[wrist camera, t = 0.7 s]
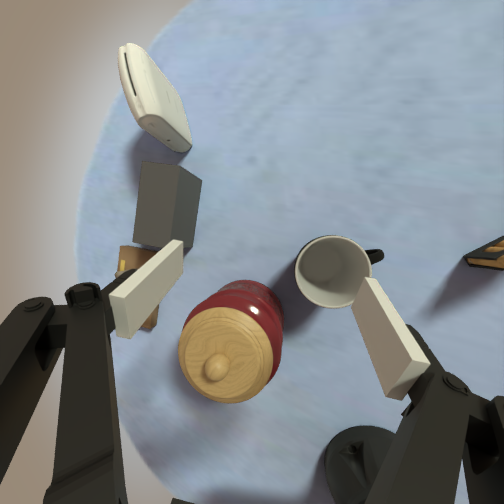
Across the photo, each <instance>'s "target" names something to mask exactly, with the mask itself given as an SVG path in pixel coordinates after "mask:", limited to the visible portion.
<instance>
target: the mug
mask: <svg viewBox="0 0 504 504" xmlns="http://www.w3.org/2000/svg"><path fill="white" fill-rule="evenodd" d="M383 258H384V253H383V251H382V250H380V249H372V250H365V251H364V250H363V249H362V247H361V246H359V245H358V244H357V243H356V242H354V241H352V240H351V239H348V238H346V237H342V236H337V235H327V236H322V237H318V238H316V239H313V240H312V241H310V242H308V243H307V244H306V245H305V246H304V247H303V248H302V249H301V250H300V252H299V254H298V256H297V258H296V261H295V266H294V274H295V280H296V283H297V286H298V288H299V289H300V291H301V293H302V294H303V295H304V296H305V297H306V298H307V299H308V300H309V301H311V302H312V303H314V304H316V305H318V306H321V307H325V308H342V307H346V306H349V305H351V304H353V302H354V299H355V297H356V295H357V293H358V291H359V288H360V286H361V284H362V282H363V280H364V277H368V278H371V276H372V268H371V265H372V264H374V263H377V262H379V261H381V260H383Z"/></svg>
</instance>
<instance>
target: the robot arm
mask: <svg viewBox="0 0 504 504" xmlns="http://www.w3.org/2000/svg"><path fill="white" fill-rule="evenodd" d="M182 274H183V241H179V240H172V241H171V242H170V243H168V244H167V245H166V246H165V247H164V248H163V249H161V250H160V251H159V252H158V253H157V254H156V255H154V256H153V257H152V258H151V259H150V260H149V261H147V262H146V263H145V264H144V265H143V266H142V267H140V268H139V269H138V270H137V269H130V270H128V271H126V272H124V273H122V274H121V275H120V276H119V277H118V278H116V279H115V280H114V281H113V282H111V283H110V284H109V285H107V286H106V287H105V288H104V289H102V290H100V287H99V285H98V284H96V283H91V282H86V283H80V284H76V285H74V286H72V287H70V288H69V289H68V290H67V291H66V292H65V297H66V301H67V304H68V305H54V304H53V301H52V300H51V298H48V297H36V298H32V299H28V300H25V301H24V302H22V303H20V304H18V305H17V306H16V307H15V308H14V309H13V310H12V311H11V313H10V314H9V315H8V316H7V318H6V319H5V320H4V322H3V323H2V324H1V325H0V484H1V482H2V480H3V477H4V475H5V473H6V471H7V469H8V467H9V465H10V462H11V460H12V458H13V456H14V454H15V451H16V449H17V447H18V445H19V443H20V441H21V438H22V436H23V434H24V432H25V430H26V428H27V425H28V423H29V421H30V419H31V416H32V415H33V412H34V410H35V408H36V406H37V404H38V402H39V399H40V397H41V395H42V393H43V390H44V388H45V386H46V384H47V382H48V379H49V377H50V375H51V373H52V371H53V369H54V367H55V364H56V362H57V360H58V358H59V356H60V354H61V351H62V349H63V348H65V353H64V364H63V374H62V385H61V395H60V396H61V397H60V406H59V416H58V427H57V438H56V448H55V460H54V469H53V478H52V482H51V485H50V486H49V488H48V489H47V490H46V493H45V496H44V499H43V504H128V501H127V494H126V487H125V479H124V468H123V458H122V449H121V439H120V428H119V418H118V408H117V398H116V388H115V378H114V368H113V358H112V348H111V338H110V333H111V332H112V331H113V330H114V329H115V330H116V335H117V336H118V337H122V338H127V339H131V338H132V337H133V336H134V334H135V333H136V332H137V331H138V329H139V328H140V327H141V326H142V324H143V323H144V322H145V321H146V319H147V318H148V317H149V315H150V314H151V313H152V312H153V310H154V309H155V308H156V307H157V305H158V304H159V303H160V302H161V300H162V299H163V298H164V296H165V295H166V294H167V293H168V291H169V290H170V289H171V288H172V286H173V285H174V284H175V283H176V281H177V280H178V279H179V277H180V276H181V275H182ZM351 309H352V311H353V314H354V316H355V319H356V321H357V324H358V327H359V329H360V332H361V334H362V337H363V340H364V342H365V345H366V347H367V350H368V353H369V355H370V358H371V360H372V363H373V365H374V368H375V371H376V373H377V376H378V378H379V381H380V384H381V386H382V389H383V391H384V394H385V397H388V398H392V399H397V400H401V401H402V400H403V398H404V397H405V396H406V395H407V393H408V395H409V397H410V399H411V401H412V402H411V403H410V404H409V405H408V407H407V408H406V409H405V410H404V411H403V413H402V414H401V415H402V416H403V418H402V421H401V423H400V425H399V427H398V430H397V432H396V434H395V433H393V432H391V431H389V430H386V429H383V428H380V427H375V426H357V427H352V428H349V429H347V430H345V431H343V432H341V433H340V434H338V435H337V436H336V437H335V438H334V439H333V440H332V441H331V443H330V444H329V446H328V448H327V450H326V454H325V461H324V464H325V472H326V479H327V484H328V487H329V490H330V493H331V495H332V497H333V499H334V501H335V504H454V502H455V496H456V490H457V484H458V478H459V472H460V467H461V461H462V460H463V467H464V473H465V479H466V485H467V492H468V498H469V504H504V396H496V397H494V398H493V399H492V400H491V401H489V400H487V399H485V398H482V397H480V396H478V395H476V394H474V393H472V392H471V391H470V389H469V388H468V386H467V385H466V384H465V383H464V382H463V381H462V380H460V379H459V378H458V377H456V376H455V375H453V374H451V373H449V372H446V371H445V370H444V369H443V367H442V366H441V364H440V363H439V361H438V360H437V358H436V357H435V356H434V354H433V353H432V351H431V350H430V349H429V347H428V345H427V344H426V342H424V340H423V338H422V337H421V335H420V334H419V332H417V331H416V330H415V329H414V328H413V327H412V326H411V325H407V324H405V323H404V322H403V320H402V319H401V317H400V316H399V314H398V313H397V311H396V309H395V308H394V306H393V305H392V303H391V302H390V300H389V299H388V297H387V296H386V294H385V292H384V291H383V289H382V288H381V286H380V285H379V283H378V282H377V280H376V279H373V278H368V277H364V280H363V282H362V284H361V286H360V288H359V291H358V293H357V295H356V297H355V299H354V302H353V304H352V306H351ZM171 504H194V503H190V502H187V501H183V500H179V499H175V498H173V499H172V502H171Z"/></svg>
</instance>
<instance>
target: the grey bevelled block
mask: <svg viewBox="0 0 504 504" xmlns="http://www.w3.org/2000/svg"><path fill="white" fill-rule="evenodd" d="M201 185H202V180H201V179H199V178H198V177H196V176H195V175H193V174H192V173H190V172H189V171H187V170H186V169H184V168H183V167H181V166H177V165H170V164H162V163H154V162H146V161H142V167H141V175H140V184H139V192H138V200H137V208H136V217H135V225H134V233H133V242H134V243H139V244H145V245H150V246H155V247H160V248H164V247H165V246H166V245H167V244H168V243H170V242H171V241H172V240H179V241H183V248H188V247H193V241H194V234H195V227H196V220H197V213H198V206H199V199H200V192H201Z"/></svg>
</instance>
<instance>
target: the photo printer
mask: <svg viewBox="0 0 504 504" xmlns="http://www.w3.org/2000/svg"><path fill="white" fill-rule="evenodd" d="M118 68H119V73H120V80H121V83H122V86H123V90H124V93H125V96H126V99H127V102H128V105H129V108H130V110H131V112H132V114H133V116H134V118H135V120H136V122H137V123H138V125H139V126H140V127H141V128H142V129H144V130H145V131H147V132H148V133H149V134H151V135H152V136H153V137H155V138H156V139H158V140H159V141H160V142H162V143H163V144H164V145H166V146H167V147H168V148H170V149H171V150H173V151H174V152H175V151H177V152H181V153H182V152H186V151H188V150H189V149H190V148H191V146H192V138H191V133H190V129H189V125H188V121H187V118H186V114H185V111H184V107H183V104H182V101H181V98H180V96H179V94H178V93H177V91H176V90H175V88H174V87H173V86H172V84H171V83H170V82H169V81H168V79H167V78H166V77H165V76H164V74H163V73H162V72H161V70H160V69H159V68H158V67H157V65H156V64H155V63H154V62H153V60H152V59H151V58H150V56H149V55H148V54H147V53H146V51H145V50H144V49H142V48H141V47H139V46H138V45H135V44H131V43H128V44H126V46H121V47H120V48H119V52H118Z"/></svg>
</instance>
